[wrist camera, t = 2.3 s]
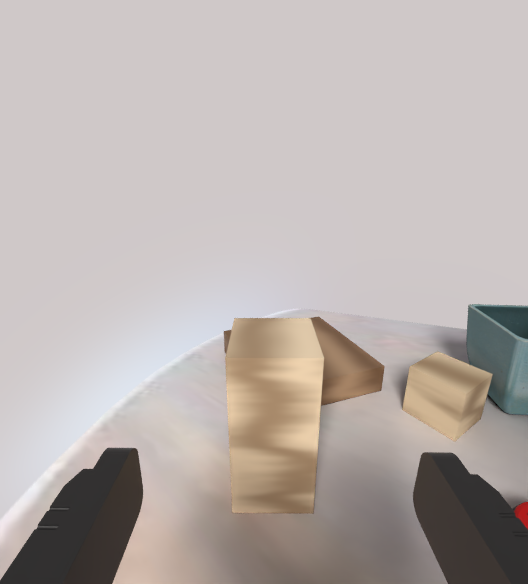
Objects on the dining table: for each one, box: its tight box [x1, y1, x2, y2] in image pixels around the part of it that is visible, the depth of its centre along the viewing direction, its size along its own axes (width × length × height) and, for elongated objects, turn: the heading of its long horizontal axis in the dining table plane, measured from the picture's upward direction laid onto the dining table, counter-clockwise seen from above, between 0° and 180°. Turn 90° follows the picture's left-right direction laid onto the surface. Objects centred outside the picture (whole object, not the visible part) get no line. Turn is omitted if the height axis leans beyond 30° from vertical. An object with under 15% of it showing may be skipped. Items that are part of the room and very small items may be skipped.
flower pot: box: [467, 304, 528, 415], centre depth 31 cm, size 9×9×9 cm
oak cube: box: [402, 352, 493, 442], centre depth 30 cm, size 5×5×5 cm
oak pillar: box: [225, 318, 324, 513], centre depth 22 cm, size 6×6×12 cm
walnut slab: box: [224, 317, 384, 406], centre depth 38 cm, size 14×14×3 cm
